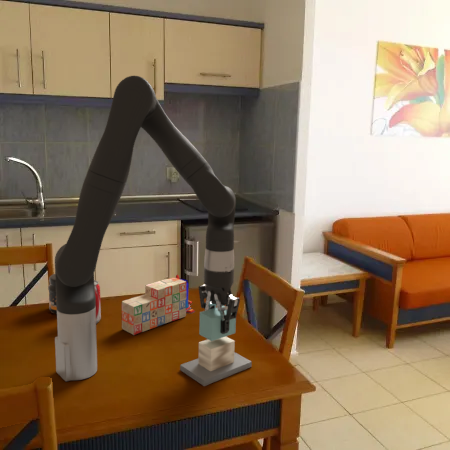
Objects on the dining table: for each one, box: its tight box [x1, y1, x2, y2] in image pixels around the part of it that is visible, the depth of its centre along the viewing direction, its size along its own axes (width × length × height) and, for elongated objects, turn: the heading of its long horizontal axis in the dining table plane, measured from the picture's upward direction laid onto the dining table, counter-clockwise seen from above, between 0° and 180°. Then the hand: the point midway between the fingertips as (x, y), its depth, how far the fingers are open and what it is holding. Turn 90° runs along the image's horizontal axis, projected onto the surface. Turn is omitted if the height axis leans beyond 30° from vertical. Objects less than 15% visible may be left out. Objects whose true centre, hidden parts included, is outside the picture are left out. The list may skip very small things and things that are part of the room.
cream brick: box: [197, 336, 236, 371], centre depth 124 cm, size 8×5×6 cm, turn 131°
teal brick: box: [198, 305, 237, 341], centre depth 123 cm, size 8×5×6 cm, turn 131°
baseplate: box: [179, 351, 252, 387], centre depth 125 cm, size 16×10×2 cm, turn 131°
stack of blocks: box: [121, 277, 187, 336], centre depth 151 cm, size 21×6×12 cm, turn 137°
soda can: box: [94, 279, 102, 324], centre depth 151 cm, size 7×7×13 cm
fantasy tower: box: [175, 274, 196, 314], centre depth 165 cm, size 12×12×12 cm
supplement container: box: [47, 273, 57, 315], centre depth 160 cm, size 10×10×12 cm
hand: (217, 329), depth 123 cm, fingers closed on teal brick, 5 cm apart
